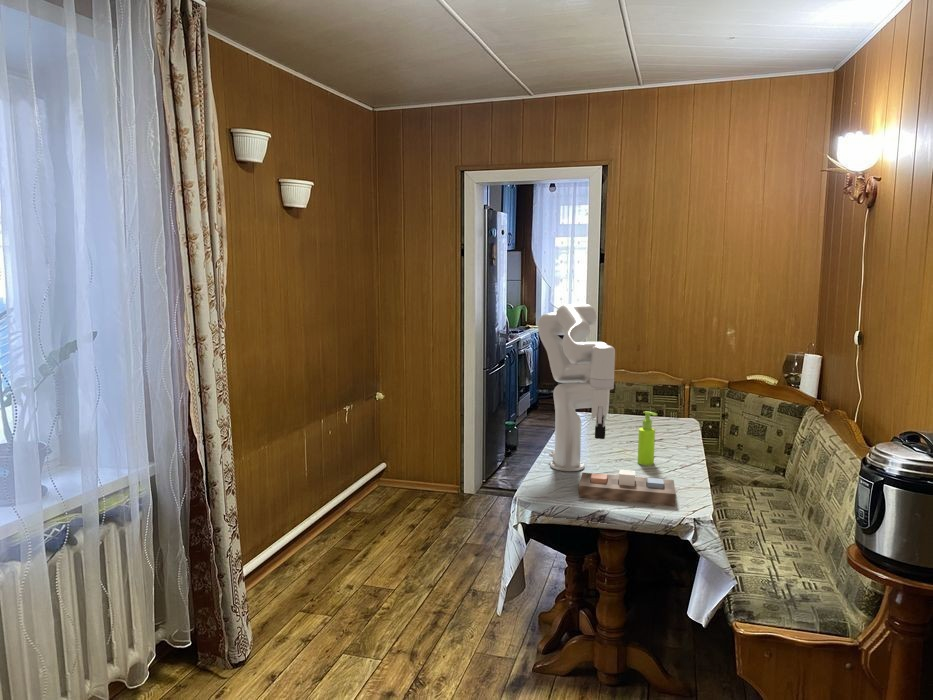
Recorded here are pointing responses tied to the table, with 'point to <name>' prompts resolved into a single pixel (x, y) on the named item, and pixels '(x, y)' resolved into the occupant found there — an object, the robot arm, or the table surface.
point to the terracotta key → (599, 478)
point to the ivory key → (627, 477)
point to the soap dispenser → (646, 441)
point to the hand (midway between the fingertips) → (599, 438)
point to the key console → (627, 491)
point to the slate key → (655, 483)
